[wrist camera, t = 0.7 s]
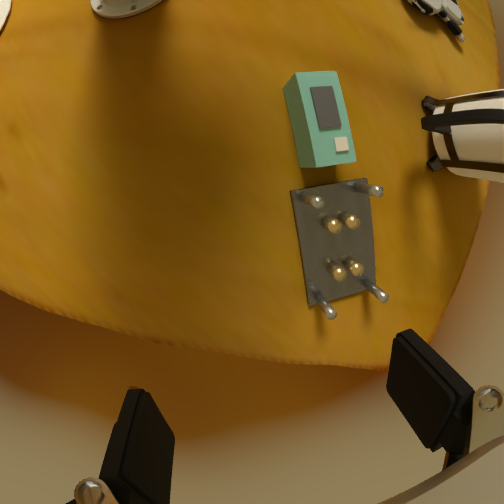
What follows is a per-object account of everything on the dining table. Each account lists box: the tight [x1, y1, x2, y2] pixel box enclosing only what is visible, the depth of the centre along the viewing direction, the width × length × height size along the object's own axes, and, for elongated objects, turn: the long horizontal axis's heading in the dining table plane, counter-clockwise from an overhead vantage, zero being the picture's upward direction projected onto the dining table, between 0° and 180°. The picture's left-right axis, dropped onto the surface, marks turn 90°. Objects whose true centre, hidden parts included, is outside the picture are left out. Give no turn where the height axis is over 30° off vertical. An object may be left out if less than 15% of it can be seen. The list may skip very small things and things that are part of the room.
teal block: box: [283, 71, 356, 168], centre depth 27 cm, size 10×4×6 cm, turn 12°
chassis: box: [290, 178, 389, 320], centre depth 32 cm, size 15×10×6 cm, turn 12°
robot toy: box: [407, 0, 465, 42], centre depth 23 cm, size 12×4×15 cm
